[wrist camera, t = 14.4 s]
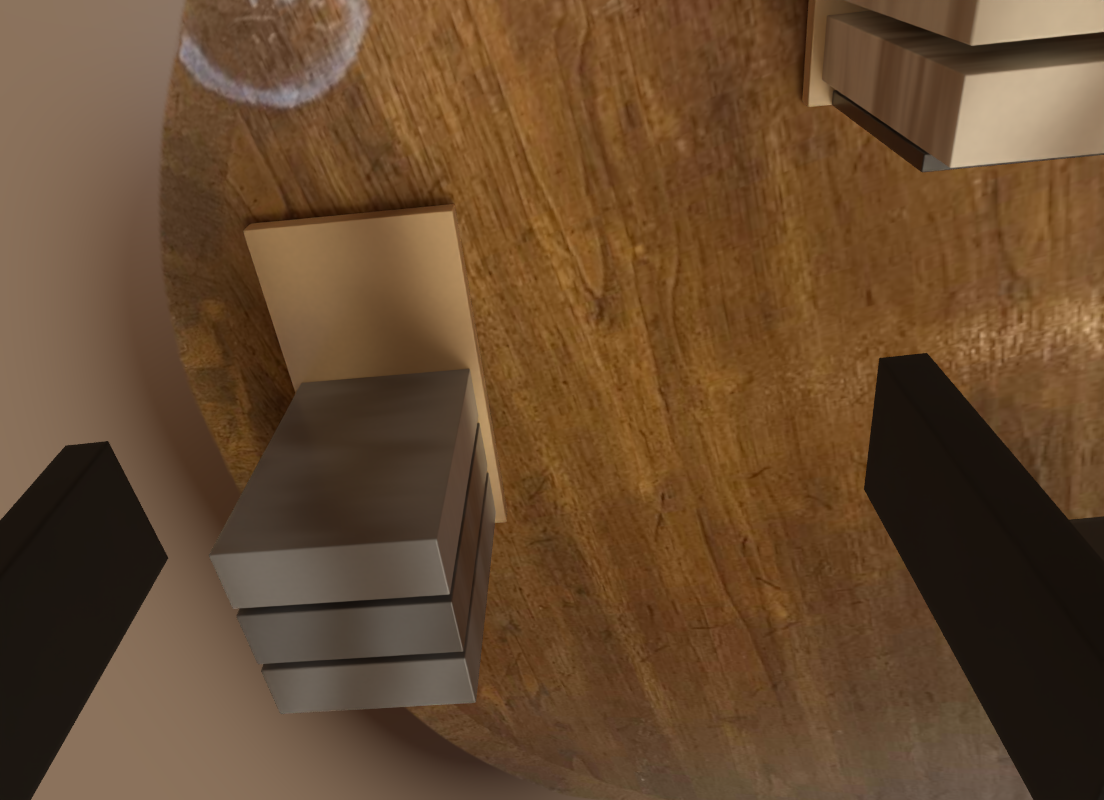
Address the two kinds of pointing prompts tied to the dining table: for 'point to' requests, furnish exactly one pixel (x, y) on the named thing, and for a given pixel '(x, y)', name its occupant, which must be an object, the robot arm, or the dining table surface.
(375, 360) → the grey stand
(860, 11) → the beige stand
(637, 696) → the dining table surface
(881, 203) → the dining table surface
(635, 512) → the dining table surface
